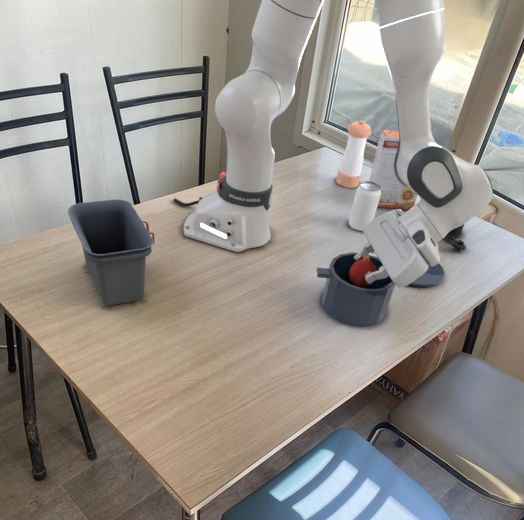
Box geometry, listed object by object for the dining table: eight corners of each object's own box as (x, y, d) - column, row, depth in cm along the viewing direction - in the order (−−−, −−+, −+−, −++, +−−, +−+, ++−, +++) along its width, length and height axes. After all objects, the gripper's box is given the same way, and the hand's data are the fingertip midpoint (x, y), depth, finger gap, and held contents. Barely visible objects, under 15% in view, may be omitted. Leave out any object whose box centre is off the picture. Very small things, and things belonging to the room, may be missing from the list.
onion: (342, 281, 119) (349, 249, 113) (365, 279, 120) (373, 248, 115) (352, 296, 114) (361, 264, 109) (376, 294, 116) (385, 262, 111)
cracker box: (408, 201, 164) (430, 133, 150) (412, 211, 159) (435, 141, 145) (363, 197, 163) (381, 127, 149) (367, 206, 158) (385, 136, 144)
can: (370, 233, 146) (382, 193, 138) (347, 229, 147) (357, 188, 139) (371, 223, 151) (383, 183, 143) (349, 218, 151) (359, 178, 143)
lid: (375, 251, 140) (382, 228, 135) (432, 255, 141) (441, 233, 137) (388, 286, 128) (396, 262, 124) (450, 290, 130) (460, 267, 125)
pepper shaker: (363, 186, 168) (378, 124, 156) (344, 189, 165) (359, 126, 153) (349, 176, 173) (363, 115, 160) (331, 179, 170) (344, 117, 157)
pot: (307, 284, 125) (314, 249, 119) (388, 289, 127) (400, 255, 121) (314, 323, 114) (322, 287, 108) (403, 329, 116) (416, 294, 110)
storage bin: (72, 261, 121) (63, 203, 112) (139, 250, 127) (136, 195, 118) (95, 317, 108) (87, 257, 98) (168, 302, 114) (168, 244, 104)
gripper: (392, 196, 115) (339, 236, 120) (429, 247, 100) (368, 290, 105) (405, 215, 119) (354, 253, 124) (443, 267, 104) (383, 307, 109)
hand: (361, 270), depth 114 cm, fingers closed on onion, 6 cm apart
